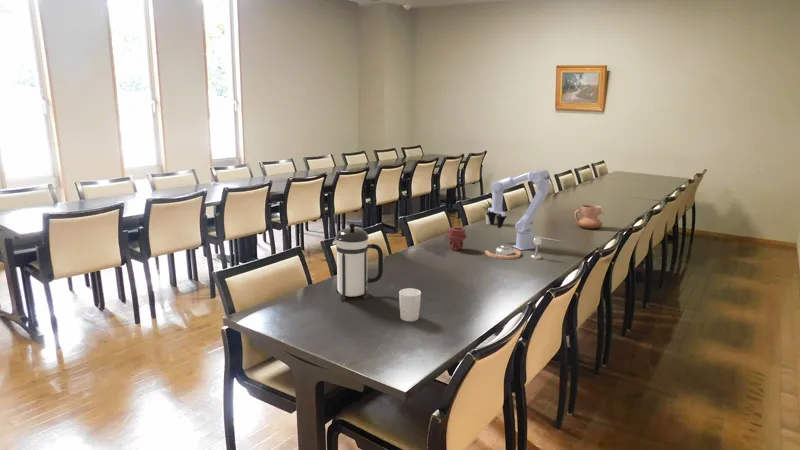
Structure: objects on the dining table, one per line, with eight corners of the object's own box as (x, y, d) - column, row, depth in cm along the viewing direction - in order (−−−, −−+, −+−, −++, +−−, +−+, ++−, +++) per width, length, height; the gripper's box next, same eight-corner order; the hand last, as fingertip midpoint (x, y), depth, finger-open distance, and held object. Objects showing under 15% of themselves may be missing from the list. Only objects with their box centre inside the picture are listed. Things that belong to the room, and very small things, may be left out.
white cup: (397, 313, 191) (398, 288, 189) (418, 313, 192) (419, 288, 189) (399, 322, 183) (400, 296, 181) (421, 322, 184) (422, 295, 182)
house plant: (485, 220, 347) (487, 196, 343) (504, 223, 339) (506, 198, 336) (475, 223, 336) (477, 199, 332) (495, 227, 328) (496, 201, 324)
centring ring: (511, 249, 277) (511, 247, 277) (527, 256, 265) (527, 254, 265) (483, 252, 270) (483, 250, 270) (498, 260, 258) (498, 258, 258)
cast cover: (506, 251, 274) (507, 242, 273) (516, 256, 266) (517, 247, 264) (492, 253, 270) (493, 244, 269) (501, 258, 262) (502, 248, 261)
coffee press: (358, 305, 198) (358, 230, 191) (326, 297, 206) (325, 224, 199) (383, 292, 212) (384, 221, 205) (352, 284, 220) (352, 216, 213)
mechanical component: (466, 247, 280) (464, 252, 271) (447, 246, 282) (445, 251, 272) (467, 225, 277) (465, 229, 268) (448, 224, 279) (446, 228, 270)
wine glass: (530, 256, 266) (532, 235, 264) (540, 256, 265) (542, 236, 263) (531, 258, 262) (532, 238, 259) (541, 259, 261) (542, 239, 258)
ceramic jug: (604, 227, 333) (606, 205, 330) (601, 231, 321) (603, 209, 318) (575, 224, 341) (577, 203, 338) (571, 228, 329) (573, 206, 326)
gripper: (484, 200, 291) (482, 223, 294) (498, 205, 278) (497, 229, 281) (494, 199, 294) (493, 223, 297) (509, 204, 281) (507, 228, 284)
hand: (495, 226), depth 289 cm, fingers open, 7 cm apart
